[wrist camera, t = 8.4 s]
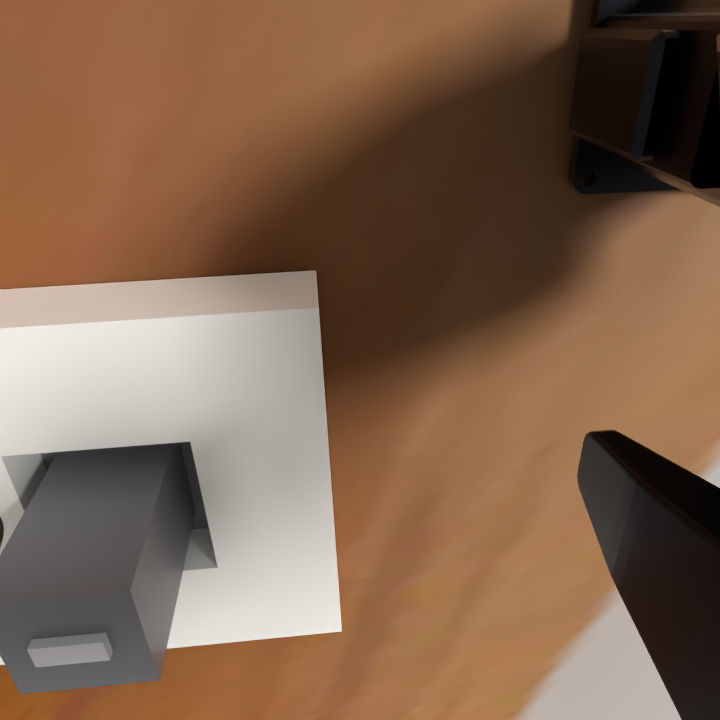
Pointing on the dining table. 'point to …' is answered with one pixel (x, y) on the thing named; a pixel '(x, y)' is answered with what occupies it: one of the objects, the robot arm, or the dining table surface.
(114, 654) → the grey square peg
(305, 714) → the dining table surface
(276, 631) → the outlet plate
